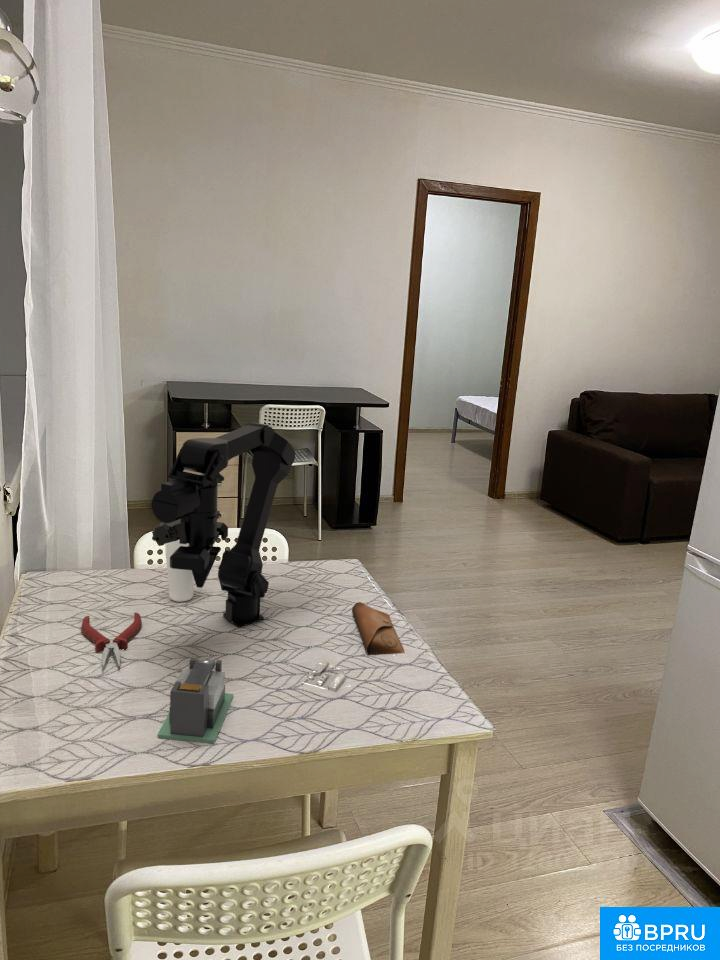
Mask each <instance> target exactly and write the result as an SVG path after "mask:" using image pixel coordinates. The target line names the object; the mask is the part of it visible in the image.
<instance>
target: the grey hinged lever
mask: <svg viewBox="0 0 720 960" xmlns="http://www.w3.org/2000/svg"><path fill="white" fill-rule="evenodd" d="M215 664H216V660H211V659H210V660H208V659H202V658H201V659H200V658H196V663H195V665H194V667H193V669H192V670H191V672H190V674H189V675H188V677H187V679H186V681H185V682H184V683H182V685H181V686H180V688H179V691H189V692H200V690H201V688H202V686H203V684H206V682H207V680H208V678H209V676H210V674H211V672H212V671H214V669H215Z"/></svg>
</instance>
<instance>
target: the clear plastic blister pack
mask: <svg viewBox="0 0 720 960" xmlns="http://www.w3.org/2000/svg"><path fill="white" fill-rule="evenodd" d="M318 665H322V666H321V667H320V669H319V670H318V671H317V670H314V669H315V668H316V667H317V666H318ZM329 667H331V668H334V666H332V665H330V663H329V662H327V661H326V662H325V663H323V662H322V663H321V662H317V663H316V664H315V665H314V667H312V669H311V670H310V671H309V672H308V673H309V674H308V673H307V674H306V676H304V677H303V679H302V680H301V681H300V683H302V684H305V685H309V686H312V687H316V688H319V689H323V690H327V691H330V692H334V693H336V692H337V691H338V690H339V689H340V687H341V686H342V684H343V683H344V682H345V681H346V679H347V678H346V677H347V676H346V675H347V674H346V673H345V670H344V668H343V667H342V668H340V667H337V666H335V667H336V669H339V672H338V673H336V675H335V676H334V678H333V679H332V680H331V681H330V683H329V684H328V685H327V688H324V687H323V685H324V684H325V683H326V681H327V680H328V679H329V677H330V673H328V672H324V673H323V674H322V677H320V678H319V680H317V681H316V683H317V684H316V685H313V684H311V683H306V682H304V681H305V680H306V678H307V680H308V681H310V680H312V681H314V680H315V674H316V676H317V677H318V676H321V673H322V672H323V671H325V670H326V669H327V668H329Z"/></svg>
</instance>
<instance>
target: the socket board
mask: <svg viewBox="0 0 720 960" xmlns="http://www.w3.org/2000/svg"><path fill="white" fill-rule="evenodd" d="M196 661H197V658H196V657H190V659H189V666H188V667H189V668H188V669H193V667H194V665H195V663H196ZM222 662H223V660H220V659H217V660H215V667H214V669H215V670H214V671H219V672H222V665H223V664H222ZM180 686H181V682H177V680H175V683H174V684H173V686H172V688H171V690H169V691H170V692H169V694H170V702H169V703H170V706H169V708H170V724H169V713H168V715H167V716H166V718H165V720H164V722H163V723H162V725H161V727H160V728H159V731H158V733H157V734H156V735H157V739H164V740H175V741H185V742H197V743H205V744H206V743H207V744H215V743H216V740H217V738H218V737H219V734H218V733H220V731H221V728H222V726H223V723H224V721H225V718H226V716H227V714H228V711H229V708H230V706H231V704H232V701H233V698H234V694H233V693H228V692H225V701H224V703H223V706H222V708H221V710H220V713H219V715H218V717H217V720H216V722H215V725H214V727H213V729H212V728H207V713H208V694H209V685H208V684H203V686H202V688H201V690H200V692H189V691H179V688H180Z"/></svg>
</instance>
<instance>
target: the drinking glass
mask: <svg viewBox="0 0 720 960" xmlns="http://www.w3.org/2000/svg"><path fill="white" fill-rule="evenodd" d="M164 545H165V547H164V548H165V561H166V570H167V583H168V597H169V599H170V600H171V601H174V602H179V603H180V602H181V603H182V602H187V601H190V600H191V599H193V598H194V593H195V592H194V589H195V588H194V587H195V580H194V576H193V573H192V570H183V569H172V568H171V567H170V556H171V555H172V554H173V553H174V552H175V550H177V549H178V548H179V547H180V546H185V547H188V546H189V543H186V544H179V540H177V541H173V542H170V543H166V544H164Z"/></svg>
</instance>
